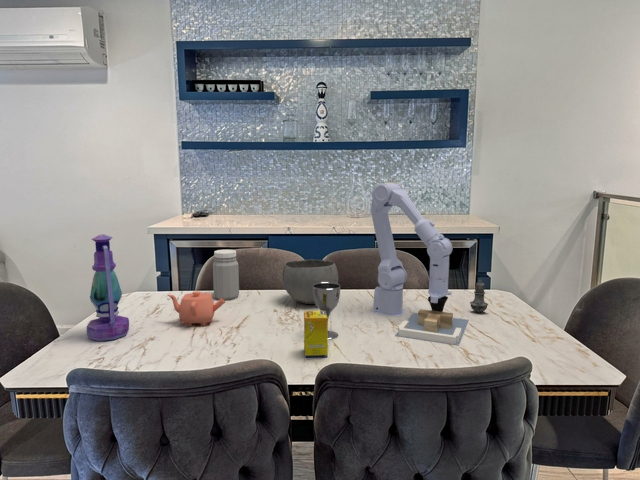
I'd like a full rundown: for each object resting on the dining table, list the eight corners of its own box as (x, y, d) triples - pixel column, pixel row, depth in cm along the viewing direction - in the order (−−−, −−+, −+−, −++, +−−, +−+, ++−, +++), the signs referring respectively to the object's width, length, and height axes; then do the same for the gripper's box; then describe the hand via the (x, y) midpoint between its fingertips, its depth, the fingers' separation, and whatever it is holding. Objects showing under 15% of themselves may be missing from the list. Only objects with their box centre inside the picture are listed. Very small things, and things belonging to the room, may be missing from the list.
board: (394, 337, 131) (394, 335, 131) (413, 314, 152) (413, 312, 152) (458, 347, 123) (458, 345, 123) (468, 321, 145) (468, 319, 145)
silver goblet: (343, 331, 136) (343, 283, 133) (335, 341, 128) (335, 290, 126) (318, 328, 138) (318, 281, 136) (309, 337, 131) (308, 287, 128)
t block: (420, 321, 144) (420, 309, 143) (452, 325, 140) (453, 313, 139) (412, 331, 134) (413, 318, 133) (447, 336, 130) (447, 323, 129)
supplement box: (303, 349, 122) (303, 310, 120) (325, 349, 123) (325, 310, 121) (304, 358, 116) (304, 317, 114) (327, 358, 117) (328, 317, 115)
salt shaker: (488, 317, 150) (490, 281, 148) (470, 315, 151) (472, 281, 149) (486, 311, 156) (488, 277, 154) (468, 310, 157) (470, 277, 155)
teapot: (208, 313, 153) (206, 284, 152) (227, 321, 145) (226, 291, 143) (168, 323, 143) (166, 292, 142) (186, 332, 135) (184, 300, 133)
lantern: (82, 333, 134) (74, 233, 130) (123, 325, 141) (117, 230, 137) (92, 346, 124) (83, 238, 119) (136, 337, 131) (129, 235, 126)
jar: (236, 301, 168) (235, 253, 165) (210, 300, 168) (208, 253, 165) (241, 294, 178) (240, 249, 175) (216, 293, 178) (215, 248, 175)
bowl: (348, 299, 170) (348, 260, 168) (319, 313, 153) (319, 270, 151) (303, 291, 181) (303, 255, 179) (271, 304, 164) (271, 263, 162)
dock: (396, 335, 131) (396, 328, 131) (403, 326, 139) (404, 320, 138) (457, 344, 124) (457, 337, 124) (461, 334, 132) (461, 328, 131)
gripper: (448, 283, 133) (446, 328, 135) (455, 273, 146) (453, 314, 148) (424, 281, 135) (422, 324, 137) (433, 271, 149) (431, 311, 151)
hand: (437, 319), depth 143 cm, fingers closed
